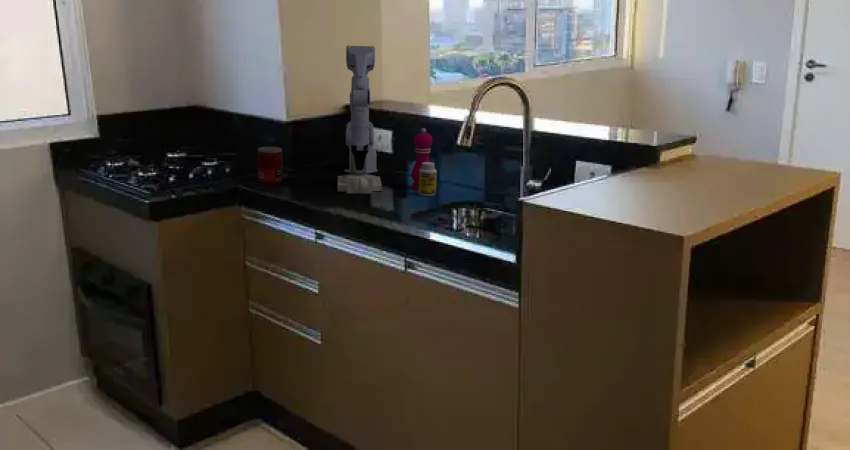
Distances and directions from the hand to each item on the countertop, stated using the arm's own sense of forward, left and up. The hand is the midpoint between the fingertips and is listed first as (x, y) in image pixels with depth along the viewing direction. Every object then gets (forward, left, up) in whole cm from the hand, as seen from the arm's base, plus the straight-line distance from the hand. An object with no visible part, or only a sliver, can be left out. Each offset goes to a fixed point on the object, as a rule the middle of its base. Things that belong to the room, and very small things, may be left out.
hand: (359, 168), depth 266 cm
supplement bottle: (-9, +22, -6) cm, 25 cm away
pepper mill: (-14, +15, -6) cm, 21 cm away
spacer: (0, 0, -2) cm, 2 cm away
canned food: (+17, -25, -6) cm, 31 cm away
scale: (+1, +1, -6) cm, 6 cm away
